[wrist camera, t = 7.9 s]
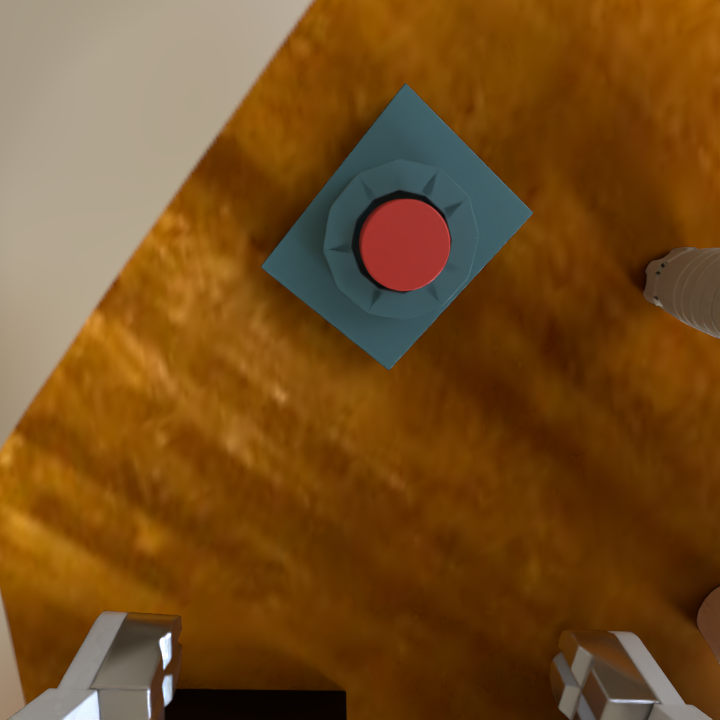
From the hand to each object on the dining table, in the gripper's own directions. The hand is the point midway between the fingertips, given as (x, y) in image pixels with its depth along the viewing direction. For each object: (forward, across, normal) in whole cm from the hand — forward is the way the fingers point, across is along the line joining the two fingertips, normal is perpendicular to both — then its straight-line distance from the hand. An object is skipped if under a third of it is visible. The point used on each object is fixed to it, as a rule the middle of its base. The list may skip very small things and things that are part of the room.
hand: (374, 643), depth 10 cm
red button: (+13, -1, -7) cm, 15 cm away
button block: (+17, -1, -7) cm, 19 cm away
